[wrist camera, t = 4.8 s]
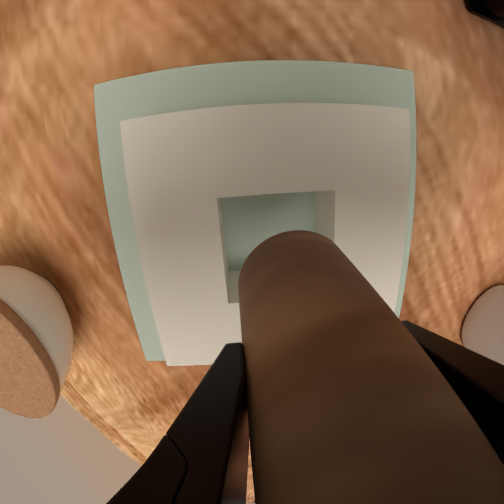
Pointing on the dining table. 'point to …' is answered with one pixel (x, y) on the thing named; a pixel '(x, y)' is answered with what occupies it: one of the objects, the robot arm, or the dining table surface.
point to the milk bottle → (486, 325)
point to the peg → (347, 391)
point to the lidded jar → (32, 343)
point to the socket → (250, 184)
